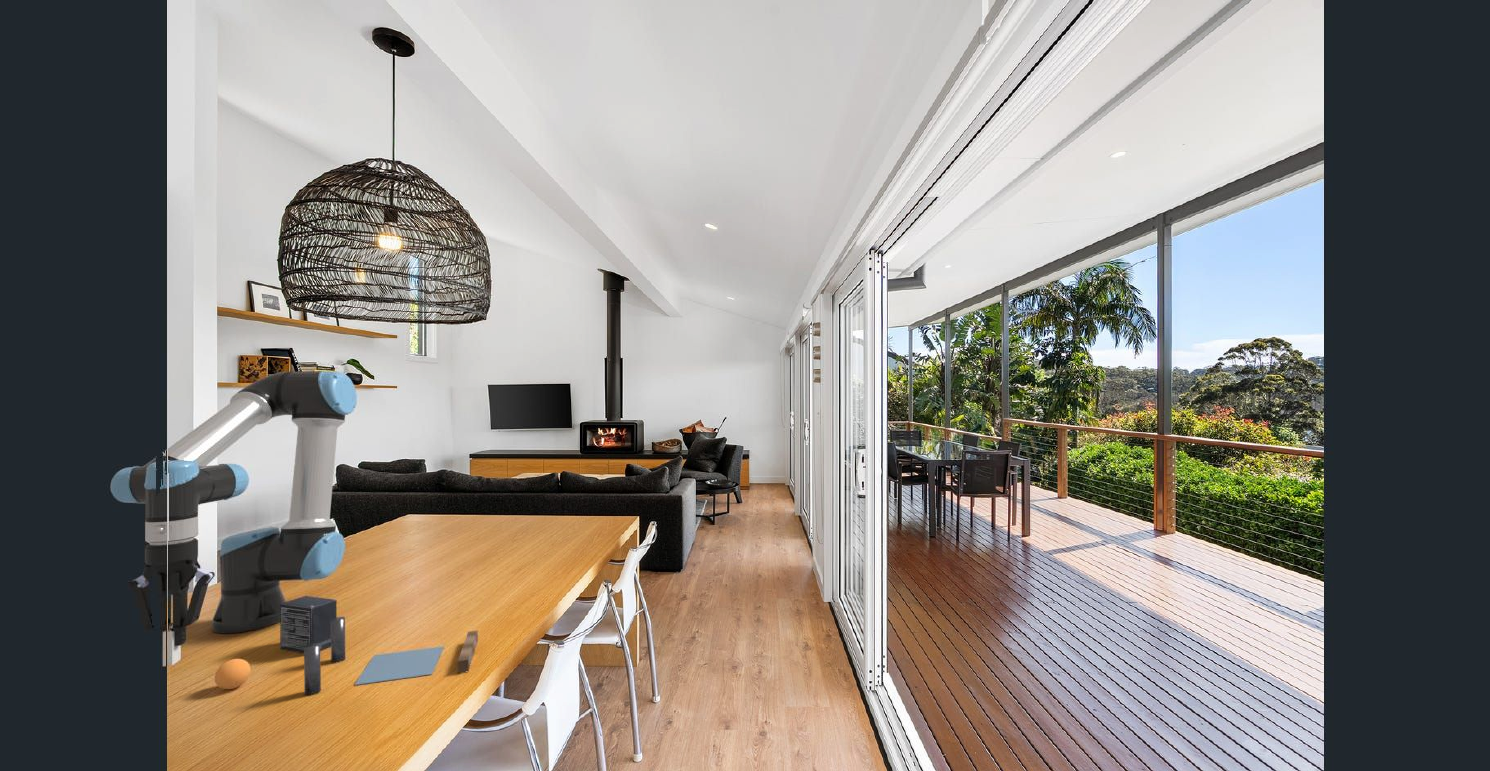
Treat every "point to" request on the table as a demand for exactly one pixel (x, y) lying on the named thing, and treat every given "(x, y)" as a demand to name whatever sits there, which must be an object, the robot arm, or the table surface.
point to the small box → (306, 622)
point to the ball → (232, 674)
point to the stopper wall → (467, 651)
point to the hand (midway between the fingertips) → (171, 662)
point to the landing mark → (400, 665)
